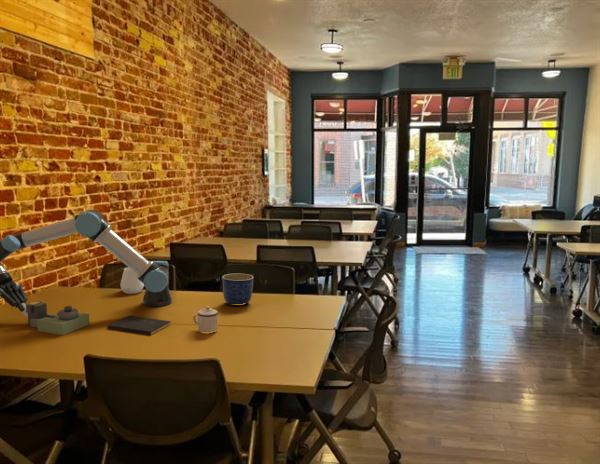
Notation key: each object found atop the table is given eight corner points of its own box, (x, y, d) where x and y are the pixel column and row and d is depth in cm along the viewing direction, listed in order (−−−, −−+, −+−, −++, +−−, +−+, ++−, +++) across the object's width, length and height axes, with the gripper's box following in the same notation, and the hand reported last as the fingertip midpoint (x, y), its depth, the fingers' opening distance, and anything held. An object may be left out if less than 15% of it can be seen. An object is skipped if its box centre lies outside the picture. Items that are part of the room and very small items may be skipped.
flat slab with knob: (89, 324, 228) (88, 303, 227) (63, 335, 213) (62, 312, 212) (51, 318, 235) (50, 298, 233) (23, 328, 220) (22, 307, 218)
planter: (236, 298, 281) (237, 272, 279) (259, 303, 272) (259, 276, 269) (215, 304, 268) (215, 276, 266) (238, 310, 258) (238, 282, 256)
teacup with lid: (221, 329, 227) (221, 305, 226) (211, 335, 219) (211, 310, 217) (198, 325, 231) (198, 301, 230) (188, 331, 223) (188, 307, 221)
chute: (48, 321, 229) (47, 302, 228) (37, 325, 223) (36, 306, 222) (38, 319, 231) (37, 300, 230) (26, 324, 225) (25, 304, 224)
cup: (115, 293, 282) (115, 270, 280) (127, 288, 295) (127, 265, 293) (137, 295, 280) (137, 271, 278) (148, 289, 293) (148, 267, 291)
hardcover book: (129, 319, 238) (129, 315, 238) (170, 325, 232) (170, 321, 231) (107, 330, 223) (107, 325, 223) (150, 336, 216) (150, 331, 216)
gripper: (8, 278, 238) (36, 316, 235) (-17, 284, 225) (13, 324, 223) (16, 269, 235) (45, 306, 233) (-9, 274, 223) (22, 314, 220)
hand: (29, 315), depth 228 cm, fingers closed
